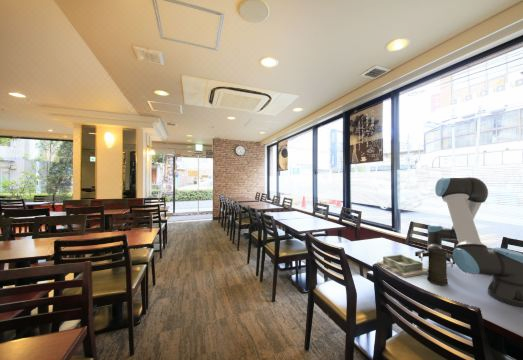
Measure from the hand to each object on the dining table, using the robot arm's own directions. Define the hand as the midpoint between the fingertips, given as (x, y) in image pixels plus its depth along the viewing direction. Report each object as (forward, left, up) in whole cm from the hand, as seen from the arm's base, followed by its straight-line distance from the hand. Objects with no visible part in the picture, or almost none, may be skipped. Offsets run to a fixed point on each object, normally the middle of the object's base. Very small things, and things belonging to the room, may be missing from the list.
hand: (436, 261), depth 122 cm
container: (-3, +3, -10) cm, 11 cm away
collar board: (+16, +6, -10) cm, 20 cm away
